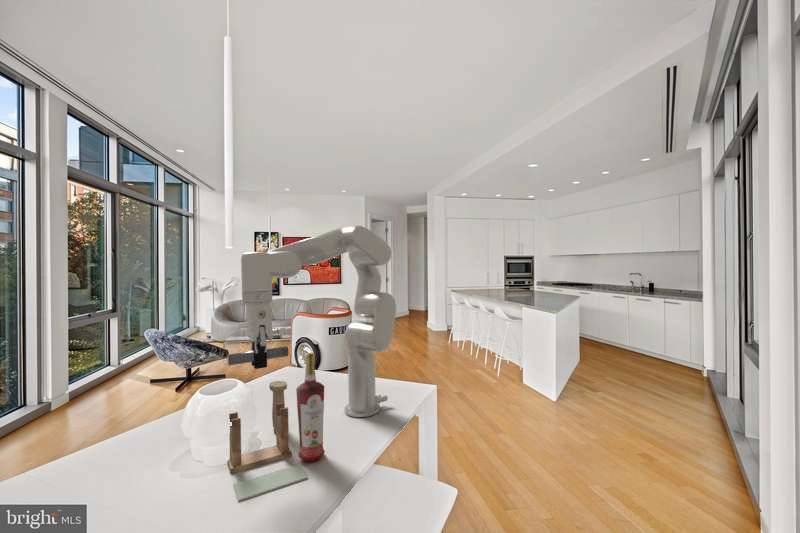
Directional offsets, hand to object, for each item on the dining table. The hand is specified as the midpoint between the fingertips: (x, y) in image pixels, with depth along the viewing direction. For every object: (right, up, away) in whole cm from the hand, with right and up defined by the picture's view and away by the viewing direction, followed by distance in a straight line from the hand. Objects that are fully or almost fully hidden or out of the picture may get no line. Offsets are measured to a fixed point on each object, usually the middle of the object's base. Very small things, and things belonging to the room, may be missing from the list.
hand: (259, 365), depth 97 cm
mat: (+7, -25, -11) cm, 28 cm away
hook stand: (0, -25, 0) cm, 25 cm away
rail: (0, +3, 0) cm, 3 cm away
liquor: (+14, -25, 0) cm, 29 cm away
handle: (0, -25, +16) cm, 30 cm away
